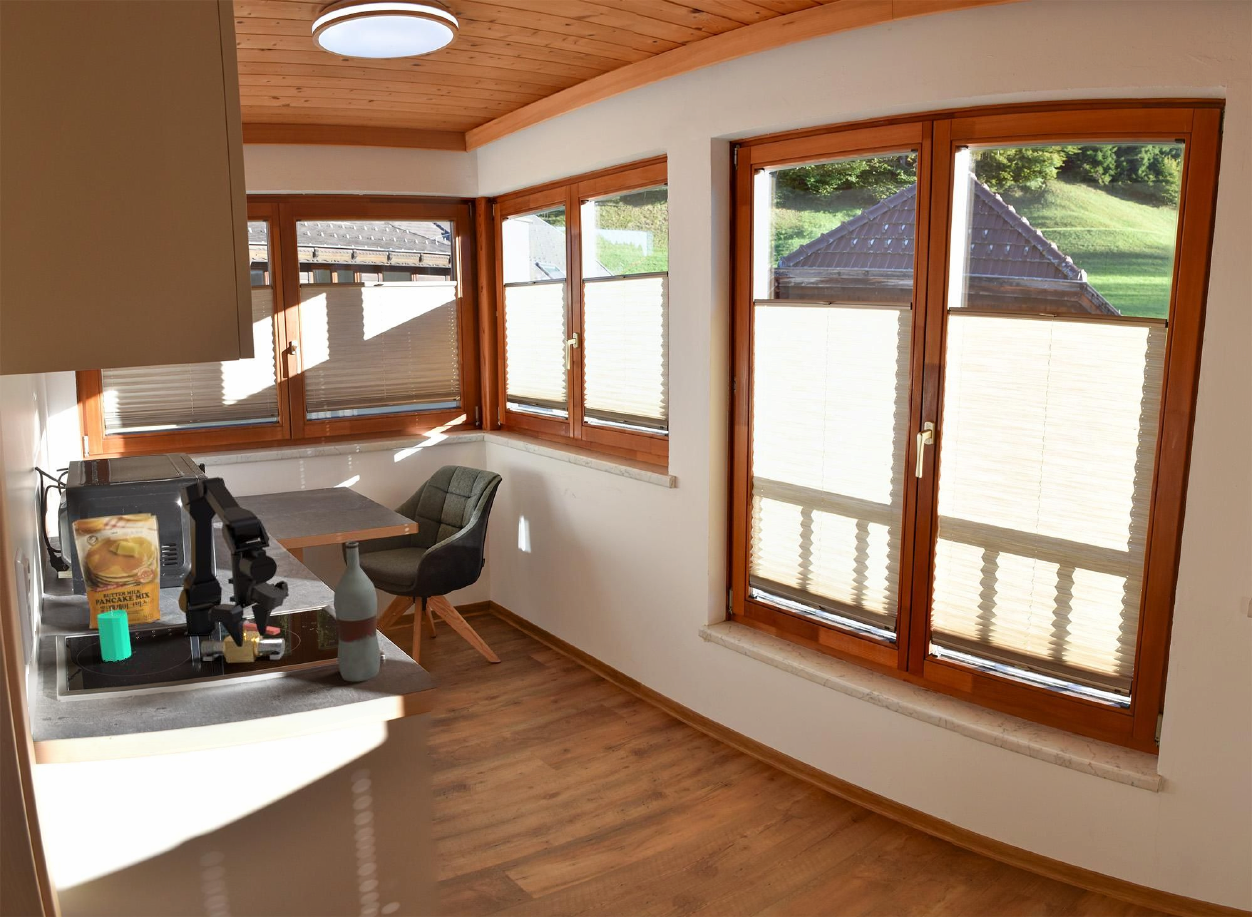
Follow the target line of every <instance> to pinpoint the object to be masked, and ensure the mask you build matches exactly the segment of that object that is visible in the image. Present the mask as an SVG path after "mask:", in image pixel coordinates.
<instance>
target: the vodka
mask: <svg viewBox="0 0 1252 917" xmlns="http://www.w3.org/2000/svg"><path fill="white" fill-rule="evenodd" d="M345 550H346V569H345V571H344V573H343V574H342V576H341V578H340V579H339V581H338V583H337V585H336V586H335V589H334V595H333V608H334V613H335V619H336V625H337V633H338V646H337V647H338V648H337V664H338V668H339V672H340V675H341V677H342V678H341V679H343V680H345V681H347V682H352V683H353V682H364V681H368V680H371V679H374V678H375V677H377V676H378V675H379V671H380V667H381V657H382V656H381V650H380V645H379V640H378V636H377V622H378V621H377V620H378V619H377V617H378V616H377V615H378V597H377V592H376V591H377V590H376V588H375V586H374V585H375V584H374V582H372V581H371V579H370V578H369V577H368V575H367V574H366V572H364V570H363V569H362V567H360V557H359V555H360V554H359V542H358V541H348V542H346V543H345Z"/></svg>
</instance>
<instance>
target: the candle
mask: <svg viewBox="0 0 1252 917" xmlns="http://www.w3.org/2000/svg"><path fill="white" fill-rule="evenodd" d="M97 619H98V627H99V629H98V636H99V643H100V650H101V652H100V653H101V659H102V661H104V660H105V661H104V662H108V661H113V662H118V661H117V660H119V661H122V660H123V661H124V660H126V659H128V658H130V657H131V655H132V646H131V641H130V640H131V638H130V631H129V626H128V620H127V613H126V611H125V610H112V607H111V611H109V612H105V613H102V614H99V615H97ZM125 658H126V659H125Z"/></svg>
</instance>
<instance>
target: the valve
mask: <svg viewBox="0 0 1252 917" xmlns="http://www.w3.org/2000/svg"><path fill="white" fill-rule="evenodd" d="M285 650H286V641H285V638H279V637H278V638H263V636H261V635H260V634H259V632H256V631H251V630H246V629H243V645H242V647H238V646H237V645H236V644H235V642H234V640H233V639H232V637H231V636H230V635H228V636H225V638H224V640H223V639H220V640H217V639H216V640H203V641H202V642H201V645H200V652H201V655H202V656H203V657H202V661H211V660H213V659H214V658H215V659H216V658H218V656H219V655H223V657H224V658H225V660H226V662H228V663H229V664H230V663H231V664H232V663H233V664H234V663H235V664H236V663H254V662H255V661H256V659H257V658H258V657H259V658H260V657H262V655H263V654H269V660H275V661H276V660H280V659H281V658H282V657H283V655H284V654H285ZM215 659H214V660H215ZM214 660H213V661H214ZM228 663H227V664H228Z"/></svg>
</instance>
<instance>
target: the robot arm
mask: <svg viewBox="0 0 1252 917" xmlns="http://www.w3.org/2000/svg"><path fill="white" fill-rule="evenodd" d="M179 498H180V503H181V504H182V508H183V509H184V510H185V512H186V513H187V514H188V515H189V517H190V570H189V572H188V573H187V574H186V576H185V578H184V579H183V586H182V589H181V592H180V594H179V597H178V606H179V610H180V611H181V612H183V613H184V614H185V622H186V630H187V631H186V632H184V636H189V637H190V636H191V637H192V636H210V635H212V634H214V633H215V632H216V630H218V629H219V628H220V627H221V625H222V626H223V628H224V629H225V630H226V631H227V633H228V634H229V636H231V637H232V639H233V640H234V642H235V644H236V645H237V646H238V647H242V645H243V623H244V622H245V621H246V620H248V617H243V616H244V614H245V613H244V611H245V610H248V609H249V608H251V610H252V614H253V617H254V621H255V622H254V623H255V624H256V626H257V629H258V632H259V634H260V636H262V637H264V636H265V635H266V633H265V632H266V628H267V626H268V625H269V620H270V617H271V615H272V614H271V613H272V612H273V610H275V609H276V608H279V607H282V606H283V604H284V601H285V599H287V597H289V586H288V582H287V581H285V580H280V581H278V582H277V583H275V582H274V583H271V584H270V583H267V582H269V581H270V580H272V579H273V578H274V576H276V573H277V570H278V569H277V568H278V566H277V562H276V560H275V559H274V558H273V557H271V556H270V555H268V554H267V550H266V549H265V548H269V547H270V543H269V542H270V541H269V540H270V536H269V535H268V532H267V530H266V528H265V525H264V524H263V523H262V521H261V519H260V518H259V517H258V516H257V515H256V514H255V513H254V511H252V510H250V509H245V508H242V507H241V505H240V504H239V503H238V501H237V499H235V497H234V496H233V495H232V493H231V492H230V491H229V489H228V488H227V487H226V484H225V480H224V478H223V477H219V476H214V477H209V478H202V479H201V480H198V481H197V482H195V483H192V484H188V485H185V486H184V487H182V489H181V490H180V494H179ZM216 515H217V517H218V518H219V519H220V521H221V522H222V526H221V535H222V538H223V540H224V542H225V544H226V546H227V548H228V550H229V551H230V561H231V564H230V565H231V575H232V577H229V578H228V579H227V580H228V581H227V582H228V584H229V585H232V587H233V588H232V590H233V595H231V596H229V602H230V603H229V604H228V603H222V596H223V595H222V593H223V592H222V591H223V588H222V586H221V583H220V581H219V580H218V578H217V577H216V576H215V575H214V574H213V519H214V518H215V516H216ZM231 603H232V604H231ZM233 603H234V604H233Z"/></svg>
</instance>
